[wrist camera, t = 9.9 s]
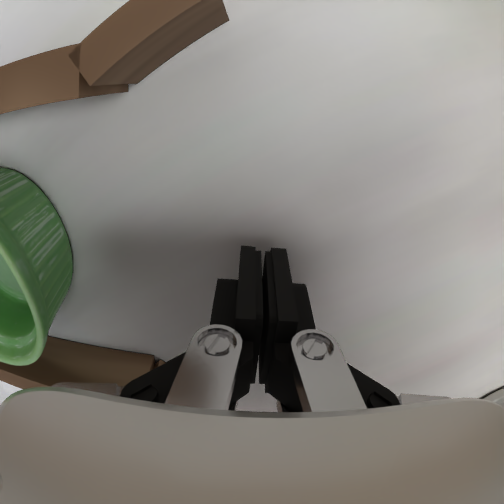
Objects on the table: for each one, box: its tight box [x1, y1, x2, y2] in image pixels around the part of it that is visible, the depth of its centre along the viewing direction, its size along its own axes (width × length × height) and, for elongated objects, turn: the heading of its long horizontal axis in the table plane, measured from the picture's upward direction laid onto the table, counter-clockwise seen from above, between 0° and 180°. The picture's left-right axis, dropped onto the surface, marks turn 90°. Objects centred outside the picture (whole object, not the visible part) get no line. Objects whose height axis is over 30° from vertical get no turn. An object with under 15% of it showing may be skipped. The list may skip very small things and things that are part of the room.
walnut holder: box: [0, 0, 229, 389], centre depth 11 cm, size 20×17×4 cm
